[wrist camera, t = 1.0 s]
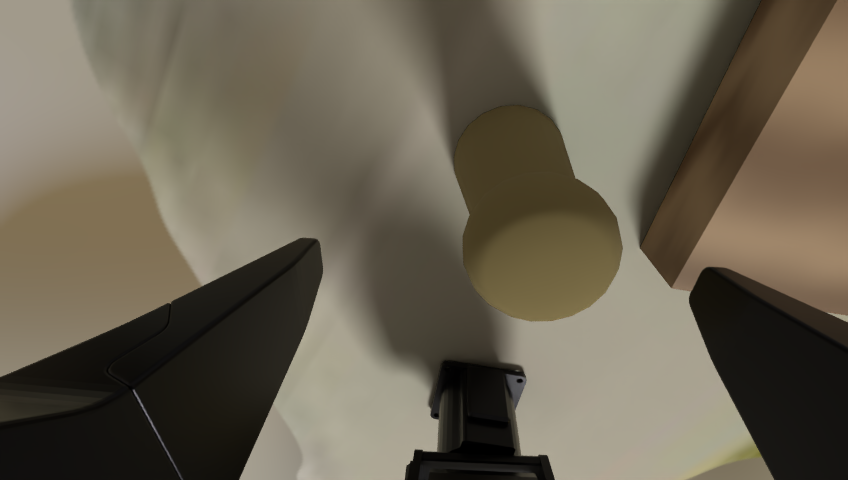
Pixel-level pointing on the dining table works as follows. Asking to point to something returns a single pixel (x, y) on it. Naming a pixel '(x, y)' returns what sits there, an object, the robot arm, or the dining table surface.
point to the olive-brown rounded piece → (532, 219)
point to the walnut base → (769, 164)
